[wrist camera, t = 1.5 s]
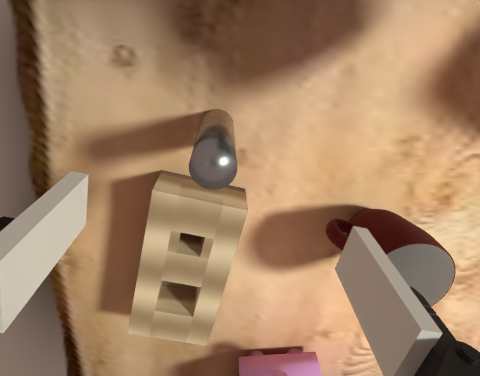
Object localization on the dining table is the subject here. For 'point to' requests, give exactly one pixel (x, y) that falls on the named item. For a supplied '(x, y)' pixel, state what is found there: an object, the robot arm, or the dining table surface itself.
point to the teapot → (280, 364)
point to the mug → (403, 250)
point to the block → (185, 258)
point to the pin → (214, 152)
